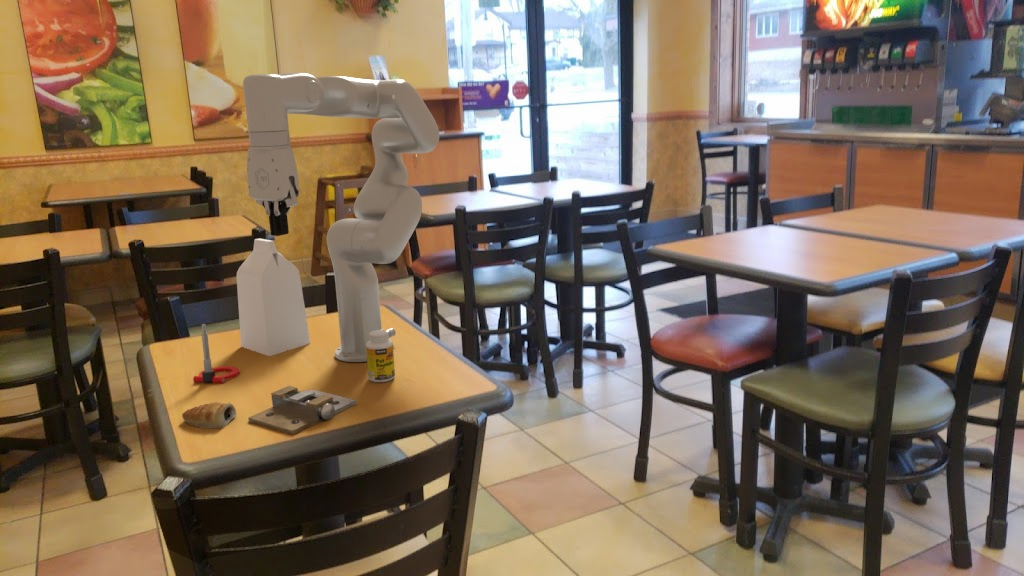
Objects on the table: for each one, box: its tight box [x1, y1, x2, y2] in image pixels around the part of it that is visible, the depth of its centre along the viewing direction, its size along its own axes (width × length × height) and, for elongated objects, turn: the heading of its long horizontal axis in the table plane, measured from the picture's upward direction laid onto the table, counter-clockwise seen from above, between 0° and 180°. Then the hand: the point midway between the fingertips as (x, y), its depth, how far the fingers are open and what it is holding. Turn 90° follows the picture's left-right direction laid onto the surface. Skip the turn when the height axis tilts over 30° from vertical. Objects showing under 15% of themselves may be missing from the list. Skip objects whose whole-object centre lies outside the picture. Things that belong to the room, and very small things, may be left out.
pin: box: [283, 395, 335, 421], centre depth 150 cm, size 3×13×3 cm, turn 57°
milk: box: [236, 237, 311, 357], centre depth 189 cm, size 12×12×26 cm
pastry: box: [182, 401, 237, 429], centre depth 148 cm, size 9×7×4 cm
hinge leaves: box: [248, 385, 357, 436], centre depth 150 cm, size 16×12×4 cm
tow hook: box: [193, 323, 241, 384], centre depth 170 cm, size 8×13×9 cm
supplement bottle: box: [366, 329, 396, 383], centre depth 166 cm, size 6×6×10 cm
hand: (279, 234), depth 156 cm, fingers closed
